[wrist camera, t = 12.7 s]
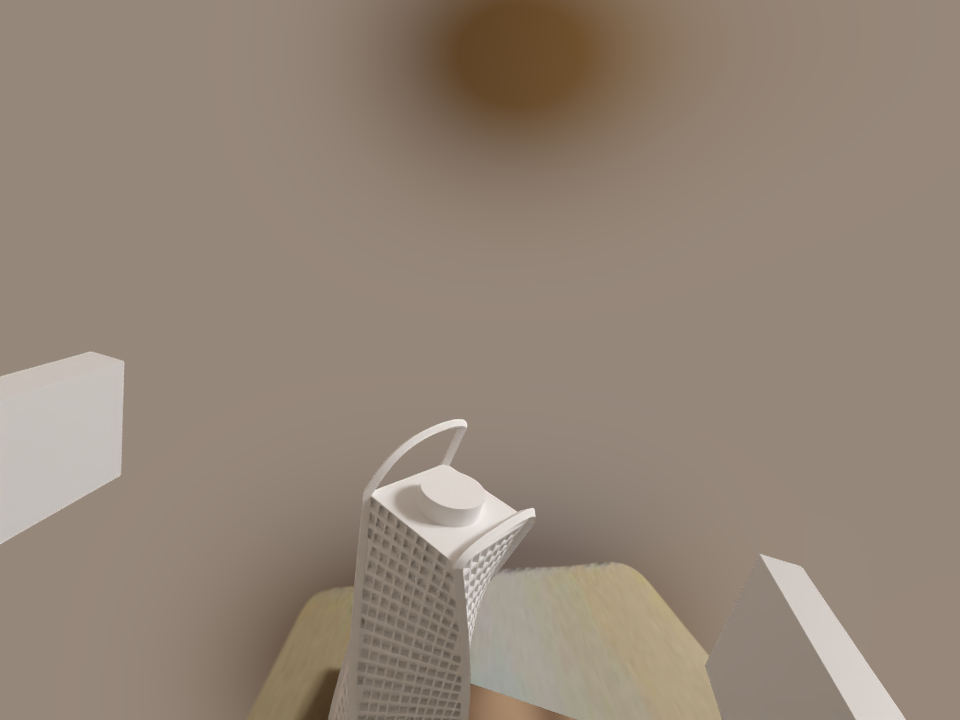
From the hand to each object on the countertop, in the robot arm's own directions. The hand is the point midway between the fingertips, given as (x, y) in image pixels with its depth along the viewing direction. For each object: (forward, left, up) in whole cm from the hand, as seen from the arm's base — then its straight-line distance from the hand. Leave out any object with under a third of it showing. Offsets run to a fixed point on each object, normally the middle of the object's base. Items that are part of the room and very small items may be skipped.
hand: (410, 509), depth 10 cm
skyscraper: (-4, -9, -32) cm, 33 cm away
